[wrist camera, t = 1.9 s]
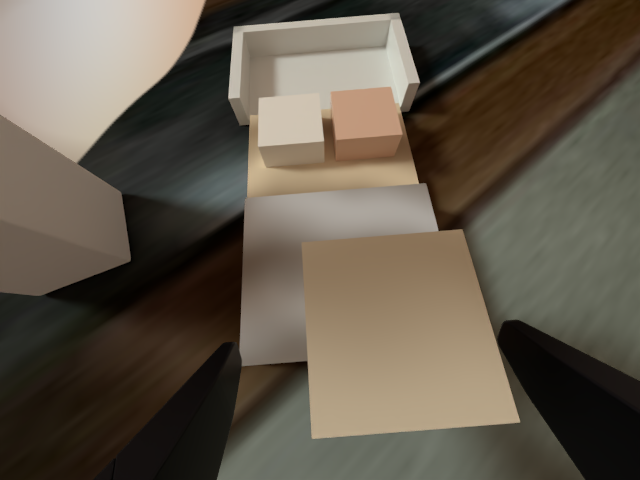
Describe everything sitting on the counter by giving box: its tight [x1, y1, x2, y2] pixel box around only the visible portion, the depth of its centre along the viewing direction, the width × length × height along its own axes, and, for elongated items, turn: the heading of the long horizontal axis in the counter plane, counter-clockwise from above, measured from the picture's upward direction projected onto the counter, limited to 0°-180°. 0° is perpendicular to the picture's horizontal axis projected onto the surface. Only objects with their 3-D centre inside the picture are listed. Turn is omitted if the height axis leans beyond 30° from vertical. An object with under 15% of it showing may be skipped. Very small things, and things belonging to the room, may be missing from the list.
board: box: [247, 103, 419, 198], centre depth 19 cm, size 21×14×2 cm, turn 5°
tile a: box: [258, 93, 324, 167], centre depth 20 cm, size 5×5×2 cm
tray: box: [228, 13, 420, 125], centre depth 24 cm, size 10×17×3 cm, turn 95°
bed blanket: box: [240, 183, 520, 439], centre depth 11 cm, size 11×13×12 cm
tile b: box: [330, 87, 403, 161], centre depth 20 cm, size 5×5×2 cm
